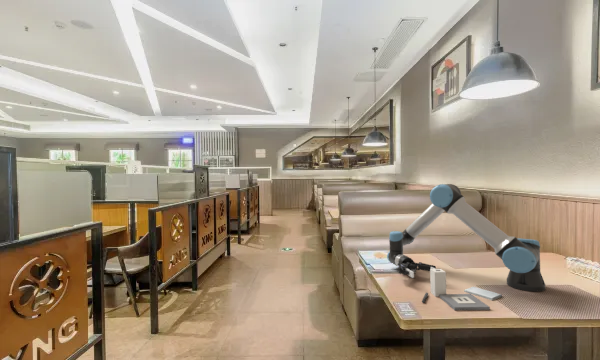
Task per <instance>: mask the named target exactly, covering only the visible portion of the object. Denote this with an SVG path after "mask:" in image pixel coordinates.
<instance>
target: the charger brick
mask: <svg viewBox="0 0 600 360" xmlns="http://www.w3.org/2000/svg"><path fill="white" fill-rule="evenodd" d="M429 276H430V281H429V282H430V283H429V284H430V285H429V286H430V293H431V294H432V296H434V297H435V298H438V297H439V294H447V272H446V270H443V269H442V268H436V269H430V271H429ZM439 298H440V297H439Z"/></svg>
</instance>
